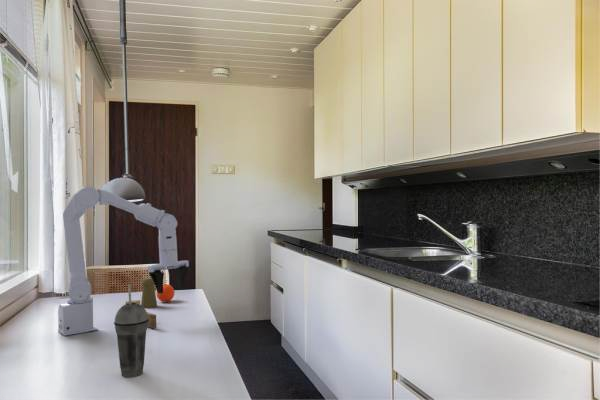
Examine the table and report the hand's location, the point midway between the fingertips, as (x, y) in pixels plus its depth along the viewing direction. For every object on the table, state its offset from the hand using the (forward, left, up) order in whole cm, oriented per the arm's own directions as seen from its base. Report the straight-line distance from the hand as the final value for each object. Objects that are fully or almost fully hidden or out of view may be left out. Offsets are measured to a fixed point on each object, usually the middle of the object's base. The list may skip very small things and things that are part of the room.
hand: (170, 291), depth 156 cm
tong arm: (-9, -1, -9) cm, 13 cm away
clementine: (+13, +32, -10) cm, 36 cm away
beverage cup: (-29, -43, -10) cm, 53 cm away
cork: (+4, +27, -10) cm, 29 cm away
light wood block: (-9, +8, -9) cm, 15 cm away
